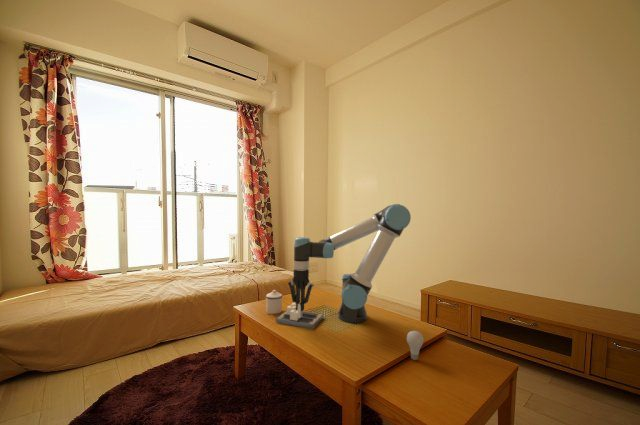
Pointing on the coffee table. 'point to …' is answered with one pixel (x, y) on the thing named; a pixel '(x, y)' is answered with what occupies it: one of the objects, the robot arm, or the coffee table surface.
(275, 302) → the teacup with lid
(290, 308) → the breaker
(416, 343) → the lightbulb
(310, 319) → the panel
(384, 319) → the coffee table surface
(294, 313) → the breaker
